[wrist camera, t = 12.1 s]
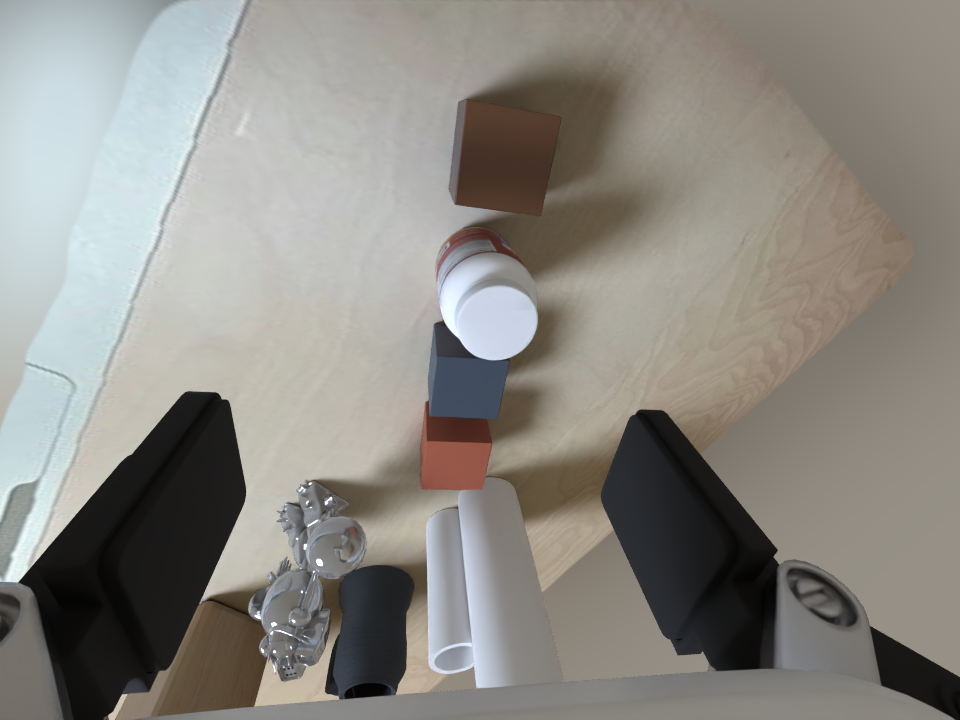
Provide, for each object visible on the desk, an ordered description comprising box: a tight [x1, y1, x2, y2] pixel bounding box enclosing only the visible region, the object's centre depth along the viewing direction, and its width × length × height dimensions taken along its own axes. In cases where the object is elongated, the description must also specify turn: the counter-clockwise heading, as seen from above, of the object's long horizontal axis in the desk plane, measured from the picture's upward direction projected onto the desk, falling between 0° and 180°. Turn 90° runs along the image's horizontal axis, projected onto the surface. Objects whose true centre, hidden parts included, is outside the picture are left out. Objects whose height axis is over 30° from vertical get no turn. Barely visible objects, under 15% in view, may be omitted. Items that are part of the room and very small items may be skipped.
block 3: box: [421, 402, 492, 490], centre depth 39 cm, size 6×6×6 cm
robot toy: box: [248, 481, 367, 682], centre depth 37 cm, size 15×6×15 cm, turn 139°
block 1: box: [449, 100, 562, 216], centre depth 27 cm, size 6×6×6 cm
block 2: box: [428, 324, 510, 419], centre depth 35 cm, size 6×6×6 cm
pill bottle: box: [435, 227, 538, 360], centre depth 28 cm, size 6×6×11 cm
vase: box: [426, 477, 565, 689], centre depth 39 cm, size 11×7×20 cm, turn 139°
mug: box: [325, 566, 414, 700], centre depth 48 cm, size 12×9×11 cm
